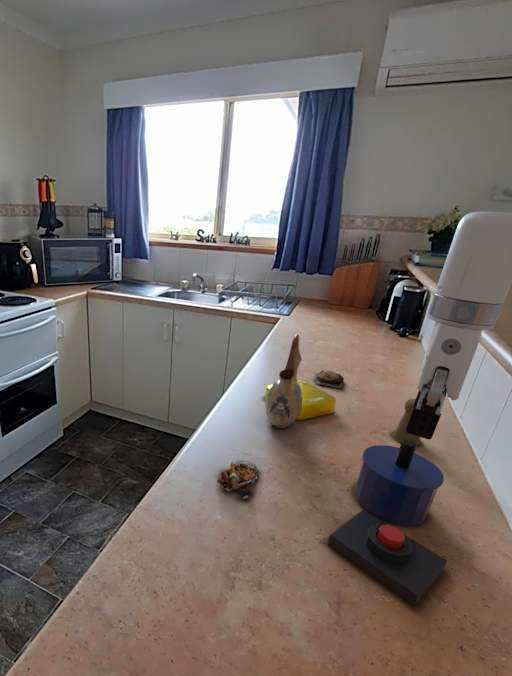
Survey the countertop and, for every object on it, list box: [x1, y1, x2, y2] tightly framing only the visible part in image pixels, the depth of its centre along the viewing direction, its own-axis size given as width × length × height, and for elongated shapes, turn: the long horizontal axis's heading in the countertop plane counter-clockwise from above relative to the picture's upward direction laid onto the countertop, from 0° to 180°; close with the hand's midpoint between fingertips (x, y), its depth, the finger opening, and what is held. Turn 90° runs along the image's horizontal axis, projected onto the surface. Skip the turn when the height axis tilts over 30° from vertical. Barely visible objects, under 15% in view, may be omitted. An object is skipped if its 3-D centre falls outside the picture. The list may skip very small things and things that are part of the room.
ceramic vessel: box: [264, 334, 303, 429], centre depth 101 cm, size 16×9×25 cm, turn 154°
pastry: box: [216, 460, 260, 500], centre depth 83 cm, size 7×12×4 cm, turn 153°
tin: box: [354, 460, 439, 527], centre depth 78 cm, size 13×13×8 cm
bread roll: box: [316, 370, 345, 389], centre depth 134 cm, size 11×8×4 cm
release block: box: [327, 509, 448, 607], centre depth 66 cm, size 14×11×4 cm
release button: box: [377, 524, 405, 550], centre depth 65 cm, size 4×4×2 cm
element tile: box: [264, 379, 337, 421], centre depth 116 cm, size 15×15×5 cm
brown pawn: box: [392, 398, 421, 446], centre depth 100 cm, size 6×6×11 cm
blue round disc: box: [362, 439, 445, 490], centre depth 75 cm, size 14×14×6 cm
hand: (421, 422), depth 60 cm, fingers open, 9 cm apart
